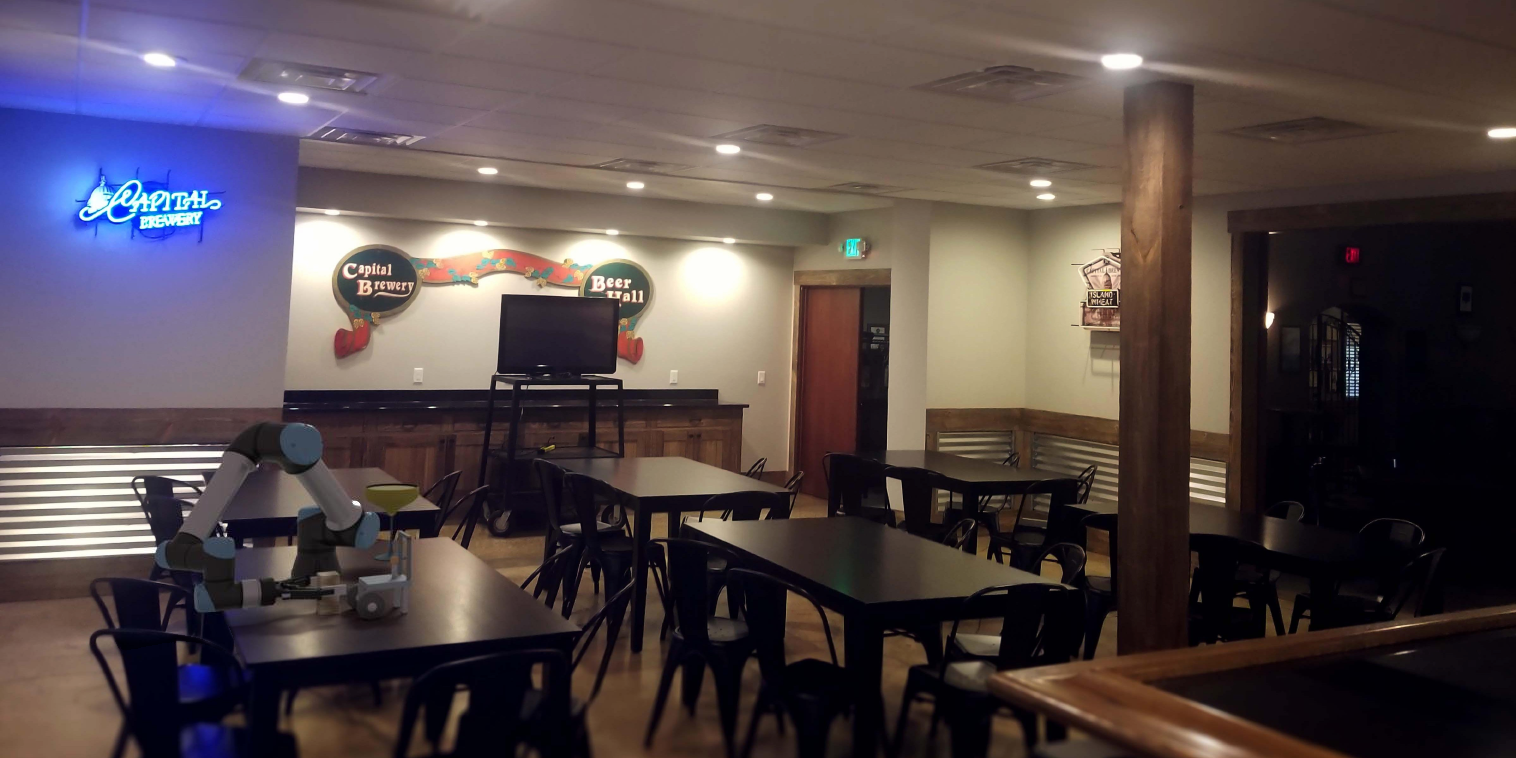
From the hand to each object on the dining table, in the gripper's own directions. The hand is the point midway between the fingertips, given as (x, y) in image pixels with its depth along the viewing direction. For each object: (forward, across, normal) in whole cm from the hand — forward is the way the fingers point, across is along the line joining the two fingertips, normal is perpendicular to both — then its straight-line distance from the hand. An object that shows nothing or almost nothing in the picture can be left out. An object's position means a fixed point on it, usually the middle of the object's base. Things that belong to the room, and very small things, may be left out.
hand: (340, 584), depth 306 cm
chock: (-3, 0, -8) cm, 8 cm away
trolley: (+9, +6, -8) cm, 13 cm away
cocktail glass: (+32, -66, -8) cm, 74 cm away
